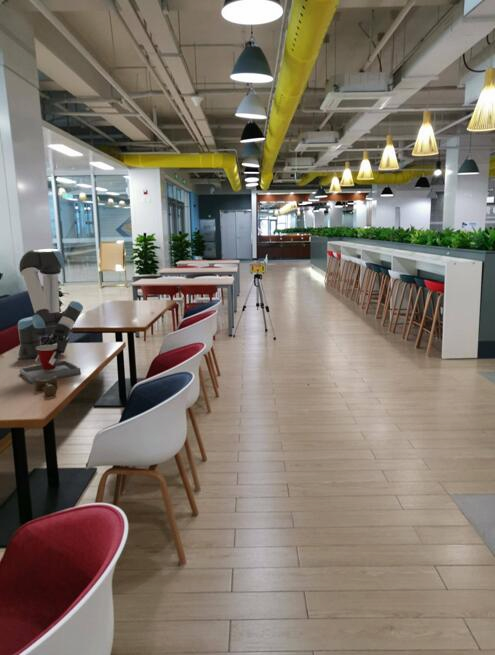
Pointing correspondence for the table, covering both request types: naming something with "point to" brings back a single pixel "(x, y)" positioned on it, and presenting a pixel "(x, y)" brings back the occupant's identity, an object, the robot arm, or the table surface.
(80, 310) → the robot arm
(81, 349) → the table surface
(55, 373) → the grey tray
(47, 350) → the plastic cup
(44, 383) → the kendama
